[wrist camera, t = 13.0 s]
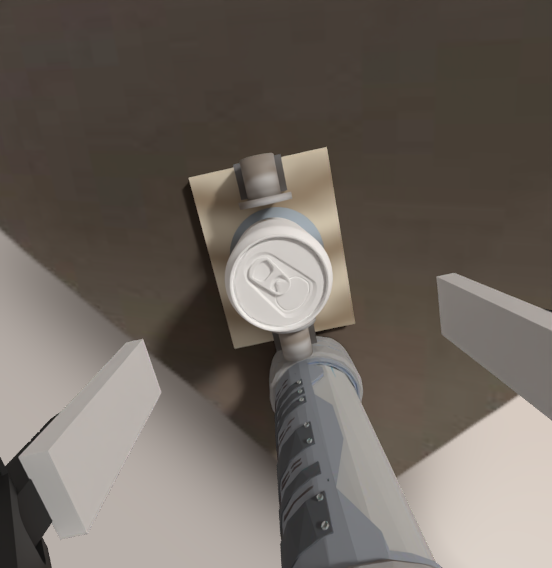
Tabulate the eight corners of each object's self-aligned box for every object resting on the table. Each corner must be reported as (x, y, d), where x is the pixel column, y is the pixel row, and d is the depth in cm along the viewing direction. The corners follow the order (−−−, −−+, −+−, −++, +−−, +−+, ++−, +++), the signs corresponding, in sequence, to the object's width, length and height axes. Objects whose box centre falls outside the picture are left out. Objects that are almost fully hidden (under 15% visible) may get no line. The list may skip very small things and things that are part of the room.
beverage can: (280, 306, 36) (287, 358, 25) (220, 261, 35) (199, 294, 23) (328, 250, 35) (360, 276, 23) (268, 200, 33) (271, 201, 22)
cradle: (191, 178, 34) (169, 172, 26) (324, 148, 34) (342, 134, 26) (235, 344, 39) (228, 380, 31) (352, 319, 39) (374, 350, 31)
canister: (264, 403, 41) (264, 902, 12) (274, 328, 39) (303, 730, 10) (343, 410, 42) (525, 901, 13) (358, 337, 39) (626, 737, 10)
